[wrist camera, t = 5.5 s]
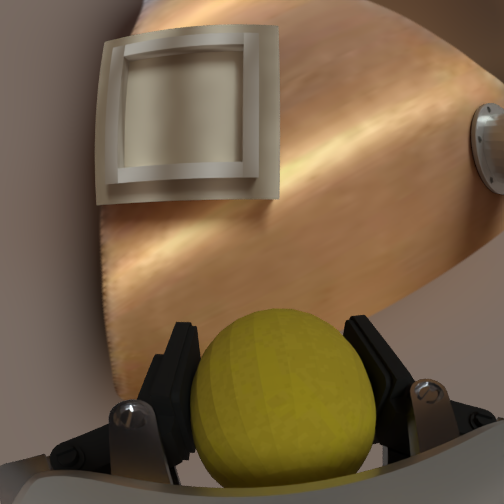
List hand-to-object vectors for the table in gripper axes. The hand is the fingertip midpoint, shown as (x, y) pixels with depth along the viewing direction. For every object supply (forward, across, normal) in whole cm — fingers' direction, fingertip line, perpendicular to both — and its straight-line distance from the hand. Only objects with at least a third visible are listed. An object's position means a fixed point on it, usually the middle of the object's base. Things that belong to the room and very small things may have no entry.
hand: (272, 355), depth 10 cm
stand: (+17, +6, -12) cm, 22 cm away
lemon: (+2, 0, 0) cm, 2 cm away
